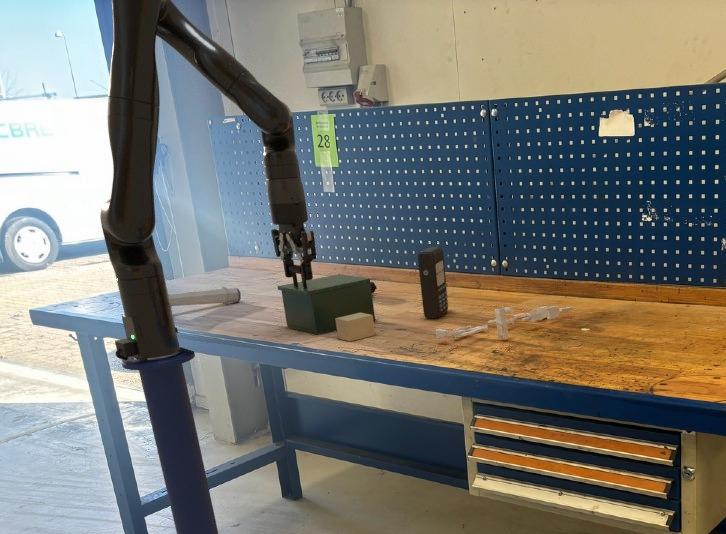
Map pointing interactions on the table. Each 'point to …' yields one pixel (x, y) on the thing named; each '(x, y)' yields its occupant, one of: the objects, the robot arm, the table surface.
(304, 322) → the bin
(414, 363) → the table surface
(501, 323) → the grey elongated piece
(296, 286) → the bin lid
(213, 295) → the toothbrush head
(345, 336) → the beige rectangular block
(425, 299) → the card reader
